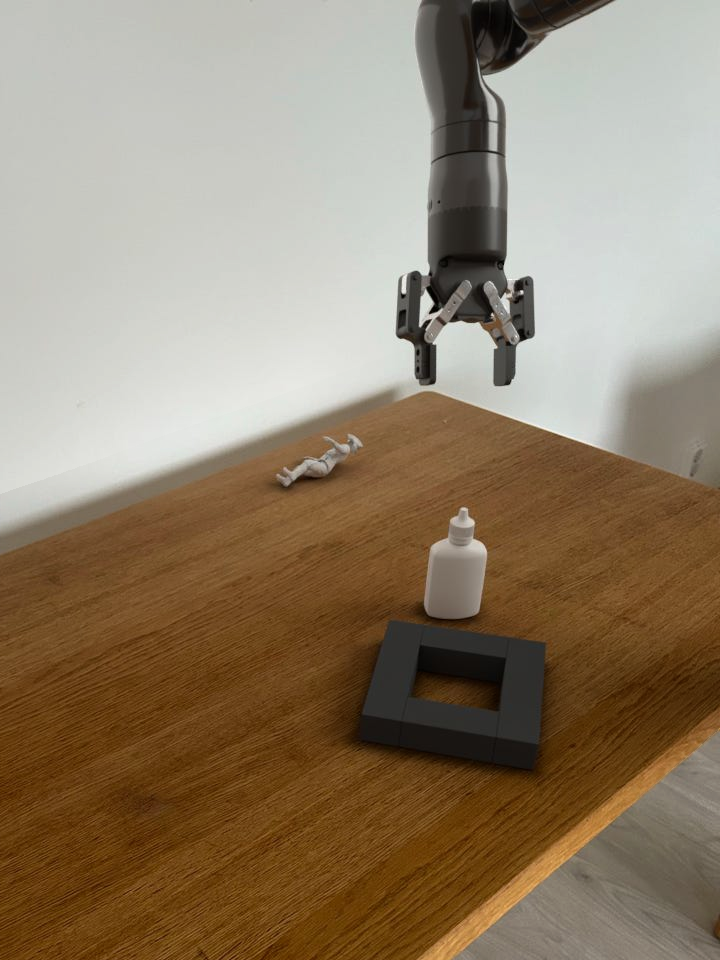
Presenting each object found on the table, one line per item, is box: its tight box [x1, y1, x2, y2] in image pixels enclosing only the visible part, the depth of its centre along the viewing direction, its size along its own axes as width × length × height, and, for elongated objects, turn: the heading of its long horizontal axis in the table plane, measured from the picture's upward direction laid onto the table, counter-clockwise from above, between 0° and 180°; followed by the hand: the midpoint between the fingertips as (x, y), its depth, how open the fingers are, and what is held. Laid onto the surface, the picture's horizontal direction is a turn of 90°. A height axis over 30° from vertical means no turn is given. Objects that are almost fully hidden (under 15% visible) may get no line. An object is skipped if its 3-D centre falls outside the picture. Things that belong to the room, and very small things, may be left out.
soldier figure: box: [275, 433, 364, 488], centre depth 131 cm, size 8×5×12 cm
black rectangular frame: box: [359, 619, 547, 771], centre depth 93 cm, size 15×15×3 cm
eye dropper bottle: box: [423, 506, 488, 620], centre depth 102 cm, size 4×6×12 cm
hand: (465, 385), depth 100 cm, fingers open, 8 cm apart
